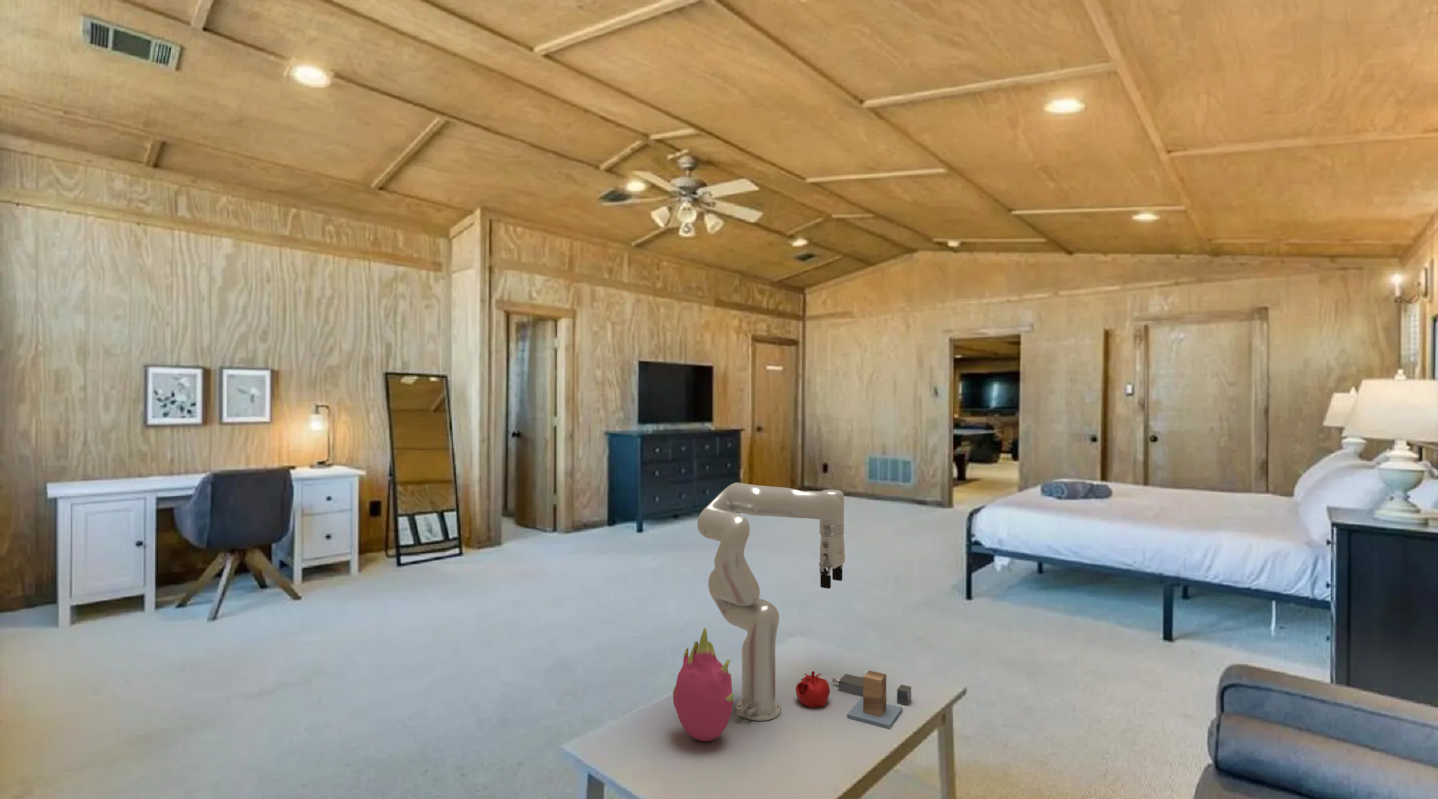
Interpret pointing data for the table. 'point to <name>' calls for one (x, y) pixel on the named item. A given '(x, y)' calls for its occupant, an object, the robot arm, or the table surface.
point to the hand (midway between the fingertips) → (831, 583)
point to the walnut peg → (874, 693)
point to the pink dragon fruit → (703, 692)
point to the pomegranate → (813, 690)
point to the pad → (883, 721)
